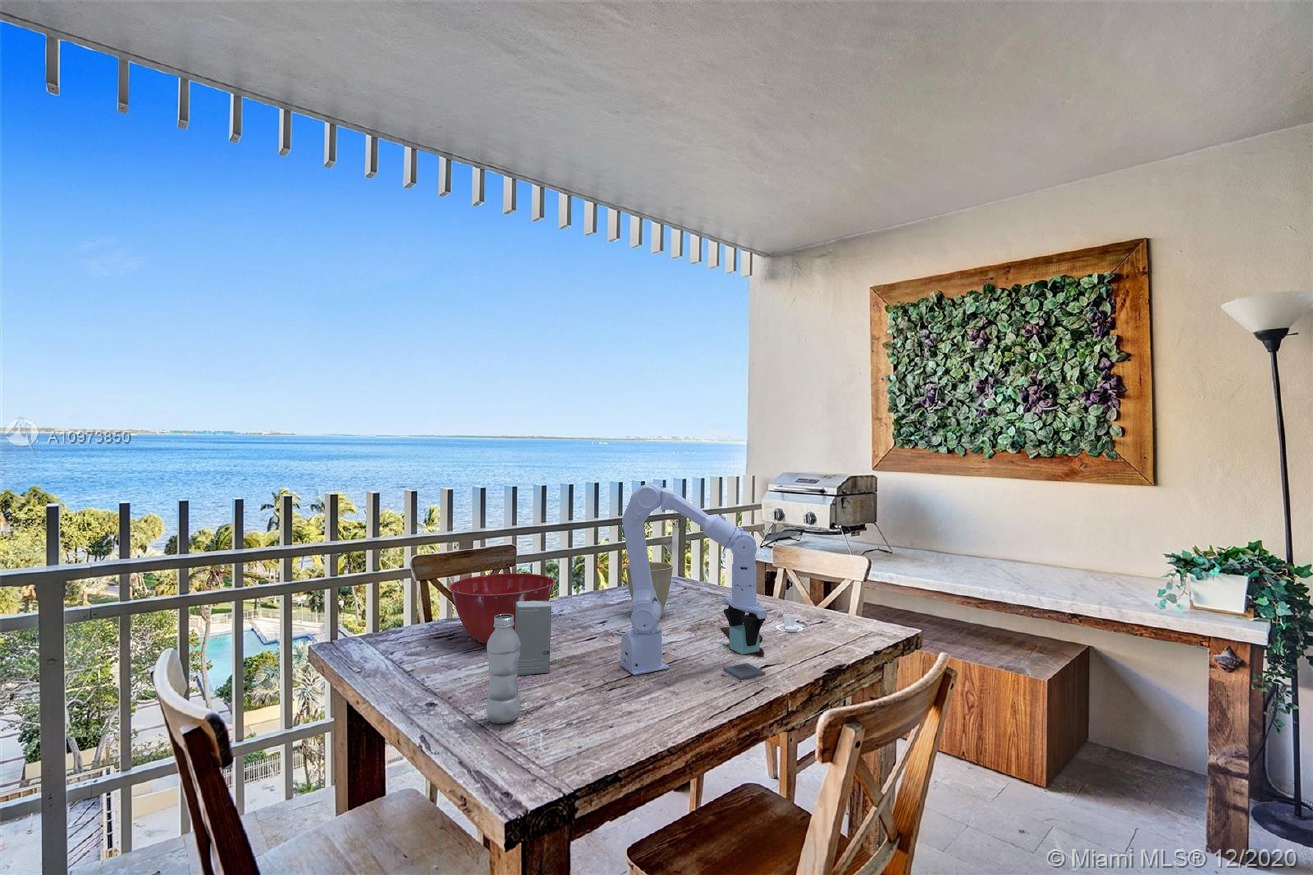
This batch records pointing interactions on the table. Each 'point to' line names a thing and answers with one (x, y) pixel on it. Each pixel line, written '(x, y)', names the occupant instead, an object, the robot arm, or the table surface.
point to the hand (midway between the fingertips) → (744, 642)
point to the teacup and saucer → (789, 624)
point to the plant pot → (656, 580)
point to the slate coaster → (744, 671)
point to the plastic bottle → (503, 671)
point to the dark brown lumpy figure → (727, 632)
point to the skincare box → (533, 636)
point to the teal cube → (741, 640)
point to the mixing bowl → (495, 599)
